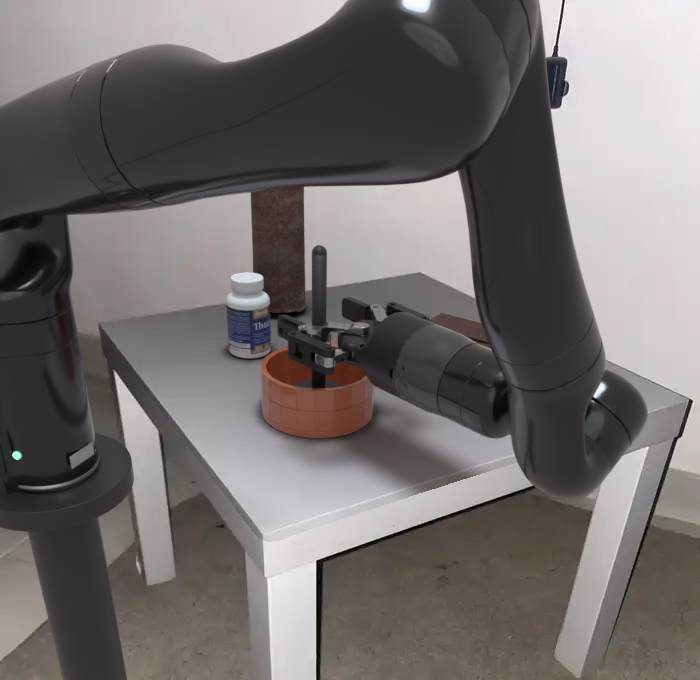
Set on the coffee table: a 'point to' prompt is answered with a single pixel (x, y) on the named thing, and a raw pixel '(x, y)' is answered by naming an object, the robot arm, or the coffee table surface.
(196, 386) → the coffee table surface
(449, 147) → the robot arm
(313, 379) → the paper towel holder
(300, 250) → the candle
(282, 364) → the bowl
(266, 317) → the pill bottle
